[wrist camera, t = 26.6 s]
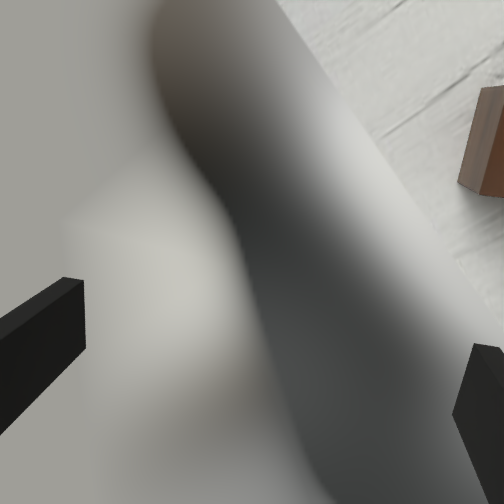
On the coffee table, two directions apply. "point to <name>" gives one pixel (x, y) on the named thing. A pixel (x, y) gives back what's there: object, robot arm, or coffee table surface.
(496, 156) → the walnut block
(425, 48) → the coffee table surface
